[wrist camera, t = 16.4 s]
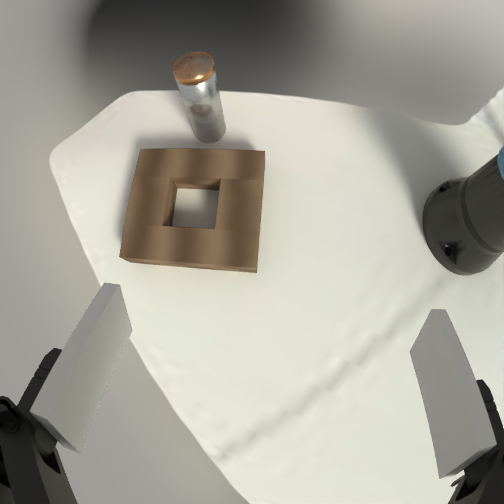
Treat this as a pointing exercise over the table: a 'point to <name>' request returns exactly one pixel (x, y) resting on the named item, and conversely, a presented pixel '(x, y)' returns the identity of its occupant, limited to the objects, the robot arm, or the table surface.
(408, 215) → the table surface
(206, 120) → the steel peg
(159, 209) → the pocket block
